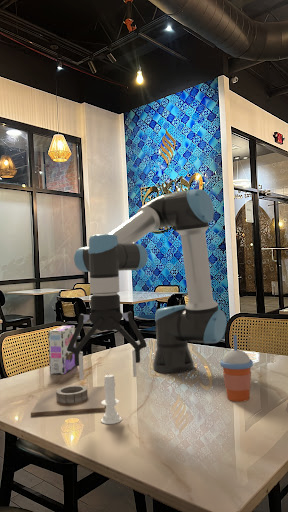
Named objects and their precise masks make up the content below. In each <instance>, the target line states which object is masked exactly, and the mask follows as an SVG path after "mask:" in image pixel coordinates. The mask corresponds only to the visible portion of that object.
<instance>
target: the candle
mask: <svg viewBox="0 0 288 512" xmlns="http://www.w3.org/2000/svg"><path fill="white" fill-rule="evenodd" d="M115 381H116V379H115V375H114V374H109V373H107V374H106V375H104V381H103V383H104V384H103V386H105V400H103V401H102V402H101V403H102V404H103V405H105V407H106V409H105V411H104V412H105V413H104V414H103V416H102V418H101V420H100V421H101V422H100V423H102V424H105V425H115V424H118V423H120V422H121V421H122V420H123V419H122V417H121V416H120V415H119V412H118V411H117V410H116V408H115V406H116V405H118V404H119V403H120V399H117V398H116V382H115Z"/></svg>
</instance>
